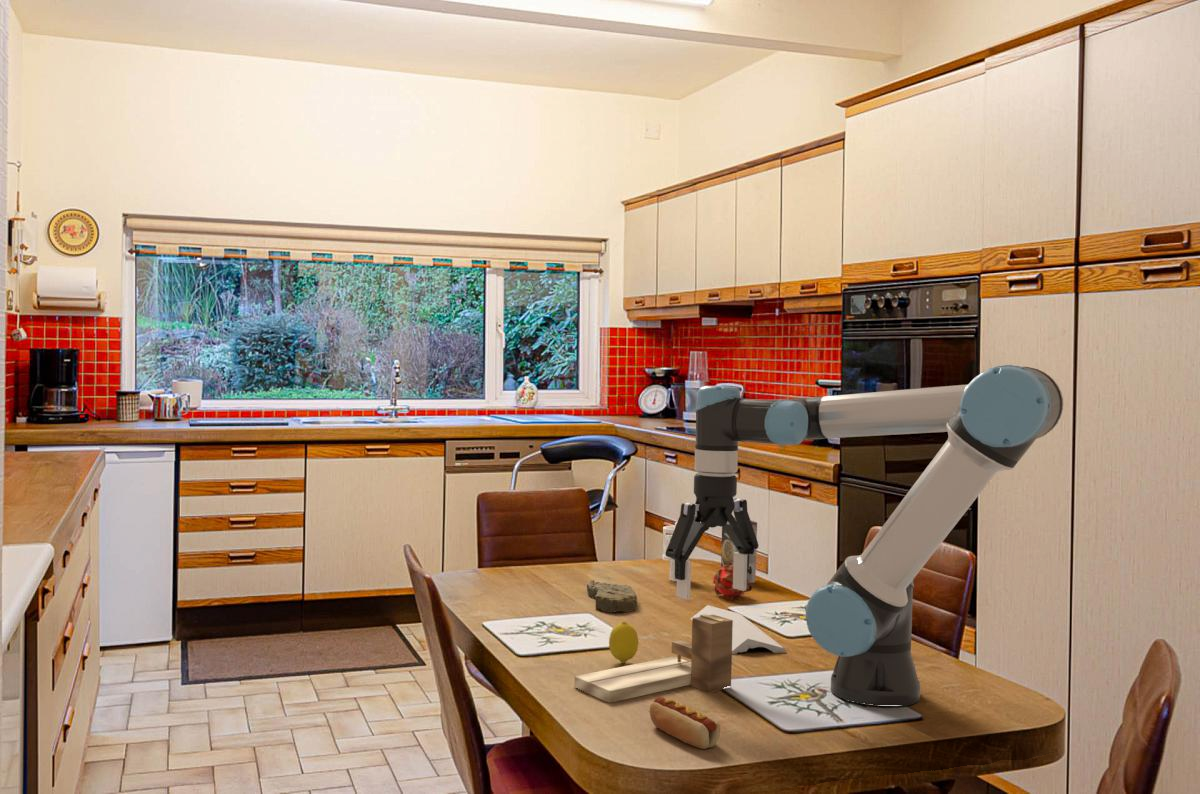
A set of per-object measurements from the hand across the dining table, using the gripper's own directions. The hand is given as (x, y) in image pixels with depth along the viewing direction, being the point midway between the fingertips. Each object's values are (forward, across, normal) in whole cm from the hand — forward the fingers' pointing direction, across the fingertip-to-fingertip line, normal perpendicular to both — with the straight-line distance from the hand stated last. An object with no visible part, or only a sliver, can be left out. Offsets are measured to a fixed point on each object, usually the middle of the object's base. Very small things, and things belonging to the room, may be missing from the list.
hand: (711, 593), depth 186 cm
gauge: (+17, 0, -3) cm, 17 cm away
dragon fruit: (+17, -54, -50) cm, 75 cm away
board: (+16, +9, -7) cm, 20 cm away
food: (+17, +21, +17) cm, 31 cm away
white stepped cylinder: (+17, -56, -72) cm, 93 cm away
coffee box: (+17, -71, -64) cm, 97 cm away
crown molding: (+17, -30, -23) cm, 41 cm away
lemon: (+17, +4, -19) cm, 26 cm away
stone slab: (+18, -27, -63) cm, 71 cm away
